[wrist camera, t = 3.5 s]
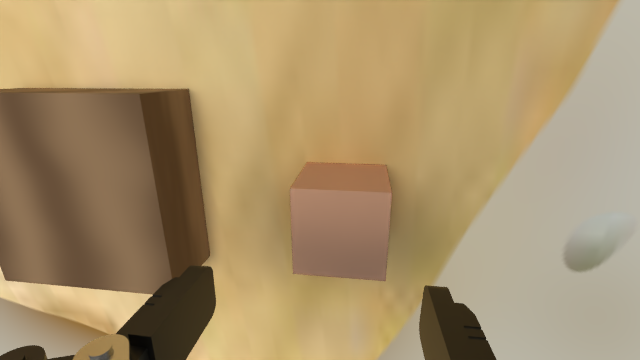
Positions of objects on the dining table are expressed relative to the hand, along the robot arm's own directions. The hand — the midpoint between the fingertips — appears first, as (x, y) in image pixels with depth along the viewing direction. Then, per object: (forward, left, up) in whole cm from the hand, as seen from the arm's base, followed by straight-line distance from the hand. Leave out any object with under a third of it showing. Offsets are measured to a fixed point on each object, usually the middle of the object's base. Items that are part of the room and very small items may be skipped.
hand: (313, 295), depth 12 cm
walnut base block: (+15, -1, -10) cm, 18 cm away
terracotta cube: (-1, 0, -10) cm, 10 cm away
